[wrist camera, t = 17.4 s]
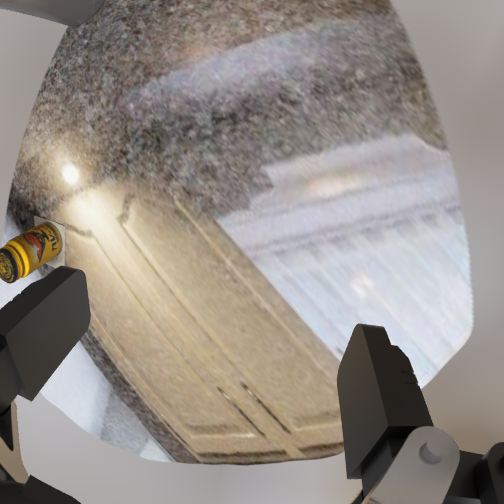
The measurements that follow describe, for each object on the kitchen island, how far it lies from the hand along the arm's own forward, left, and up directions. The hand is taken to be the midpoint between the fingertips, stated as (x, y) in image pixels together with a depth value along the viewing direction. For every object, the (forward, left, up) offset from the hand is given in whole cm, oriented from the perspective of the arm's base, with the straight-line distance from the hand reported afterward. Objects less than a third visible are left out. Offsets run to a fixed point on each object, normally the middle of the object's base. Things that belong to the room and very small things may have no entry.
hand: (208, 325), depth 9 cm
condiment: (-36, -16, -32) cm, 51 cm away
